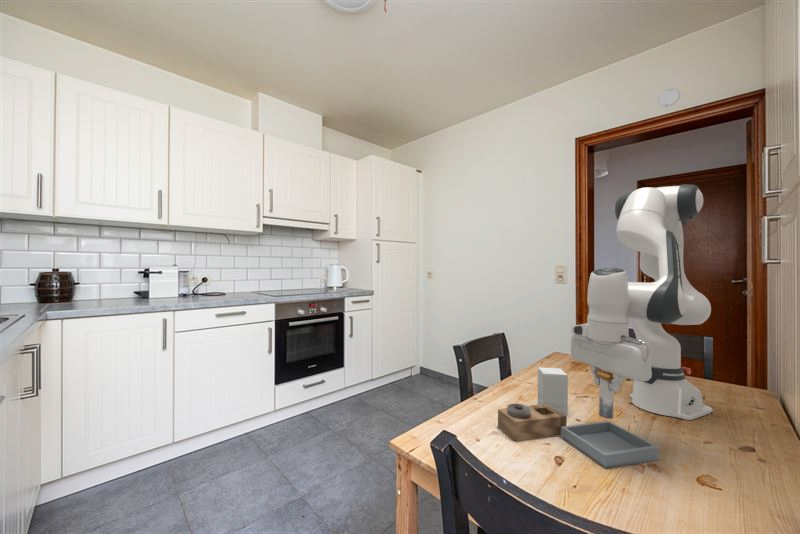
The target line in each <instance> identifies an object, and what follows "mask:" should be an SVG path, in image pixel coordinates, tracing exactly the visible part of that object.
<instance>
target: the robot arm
mask: <svg viewBox="0 0 800 534" xmlns="http://www.w3.org/2000/svg"><path fill="white" fill-rule="evenodd" d="M703 195H704V194H703V193H702V192H701V189H700V188H699V186H697V185H695V184H680V185H672V186H670V185H669V186H668V185H667V186H658V187H651V186H650V187H647V186H646V187H641V188H638V189H635V190H634V191H632V192H629V193H628V192H627V193H625V194H623V195H620V197H618V198H617V200H616V201H615V205H614V215H615V217H616V220H617V224H616V237H617V238H618V240H619V241H620V242H621V244H623V245H624V246H626V247H627V248H629V250H633V251H635V252H640V255H639V257H640V258H639V268H640V271H641V272H642V273H643V274H645V275H646V276H648V277H649V278H652V279H653V280H654V281H653V282H645V281H644V282H642V281H639V282H638V281H637V282H636V281H628V275H627V271H626V270H624V269H623V268H618V267H605V268H597V269H594V270H593V271H591V273H590V274H589V275H590V276H589V280H588V285H587V286H588V287H587V305H588V313H587V317H586V318H587V319H586V323H581V324H576V325H573V326H571V333H572V336H571V339H570V355H571V358H572V359H573V360H575V361H578V362H580V363H583V364H586V365H590V367H589V368H590V369H589V370H590V371H591V373H592V376H593V377H594V378H593V382H594V384H595V385H598V386H599V384H600V376H598V375H597V370H606V371H609V372H612V373H613V377H614V381H613V383H609V386H610V387H609V389H610V390H612V391H614V392H615V393H617V392H618V393H619V392H620V391H621V384H622V383H623V381H624V380H625V379H626V378H627V379H629V380H633V387H632V392H631V393H630V394H629V396H630V398H631V403H632V404H633V405H634V406H636V407H637V408H640V409H641V410H645V411H647V412H650V413H653V414H657V415H662V416H666V417H667V416H668V417H673V418H678V419H682V420H687V421H693V420H695V419H698V418H700V417H703V416H706V415H709V414H712V413H713V412H714V411H713V408H712V407H711V406H709V405H706V404H704V403H703V394H702V392H701V391H700V389H698V388H697V387H696V386H695V385H694V384H692V383H691V382H689V380H687V379H686V375H691V373H692V369H691V367H685V366H682V362H681V360H682V355H681V354H682V353H681V351H682V349H681V348H682V346H681V344H680V342H679V340H678V339H677V338H676V337H674V336H673V335H671V334H670V333H668V332H667V331H665V329H664V328H663V326H662V324H663V325H670V324H671V325H676V326H677V325H679V326H691V325H693V326H694V325H695V326H696V325H702V324H704V323H705V322H706V321H708V319H709V318H710V316H711V314H712V313H711V312H712V305H711V302H710V300H709V299H708V298H707V297H706V296H705V295H704V294H703V293H701V292H700V291H698V290H697V289H696V288H695V287H693V285H692V284H691V283H690V282H689V280H688V278H687V275H686V273H685V268H684V247H685V245H684V244H685V243H684V241H685V240H684V231H683V225H684V226H685V225H687V224H688V222H689V221H692V220H693V219H695V217H697V216H698V215H699V214H700V213H701V209H702V208H703V206H704V196H703ZM630 326H631V328H632V329H633V332H634V335H635V338H634V337H630V334H629V331H630ZM685 374H686V375H685ZM711 412H712V413H711Z"/></svg>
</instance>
